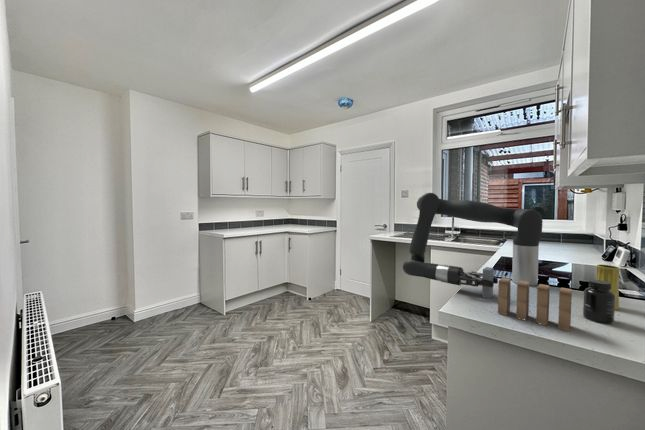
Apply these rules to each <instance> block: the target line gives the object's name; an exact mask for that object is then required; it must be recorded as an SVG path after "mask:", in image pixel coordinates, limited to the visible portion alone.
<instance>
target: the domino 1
mask: <svg viewBox="0 0 645 430" xmlns="http://www.w3.org/2000/svg"><path fill="white" fill-rule="evenodd" d="M482 274H483V277H482V278H483V280H488V281H493V277H494V267H487V266H486V267H484V268H483V269H482ZM481 289H482V290H481V292H482V293H481V296H482V297H483V298H482V297H481V298H482V299H487V298H488V300H490V299H492V298H493V295H494V286H493V287H487V286H481Z"/></svg>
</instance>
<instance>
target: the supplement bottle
mask: <svg viewBox="0 0 645 430" xmlns="http://www.w3.org/2000/svg"><path fill="white" fill-rule="evenodd" d="M611 289H612V288H611V283H609V282H606V281H602V280H596V279H589V281H588V287H586V288H585V289H584V291H583V303H582V304H583V305H582V306H583V307H582V315H583V317H584V318H586V319H587V320H589V321H591V322H595V323H597V324H598V323H599V324H605V325H610V324H611V325H612V324H613V323H615V312H616V310H615V294H614V293H613V292H611V291H610V290H611Z"/></svg>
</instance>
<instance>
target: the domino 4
mask: <svg viewBox="0 0 645 430" xmlns="http://www.w3.org/2000/svg"><path fill="white" fill-rule="evenodd" d="M550 287H551V286H550V285H548V284H542V283H539V285H537V290H536V318H535V319H536V321H535V323H536V322H537V323H541V324H544V325H543V326H545V325H547V326H548V323H549V321H548V320H549V319H550V317H549V316H550V290H551V289H550ZM537 323H536V324H537ZM541 324H540V325H541Z"/></svg>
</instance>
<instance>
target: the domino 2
mask: <svg viewBox="0 0 645 430" xmlns="http://www.w3.org/2000/svg"><path fill="white" fill-rule="evenodd" d="M511 281H512V278H506V277H502V278H500V279H498V288H497V290H498V291H497V292H498V294H497V295H498V296H497V299H498V300H497V314H498V313H499V314H498V315H501V314H503V315H502V316H505V315H507V314H508V315H509V313H510V312H511V286H512V285H511V283H512V282H511ZM508 315H507V316H508Z"/></svg>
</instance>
